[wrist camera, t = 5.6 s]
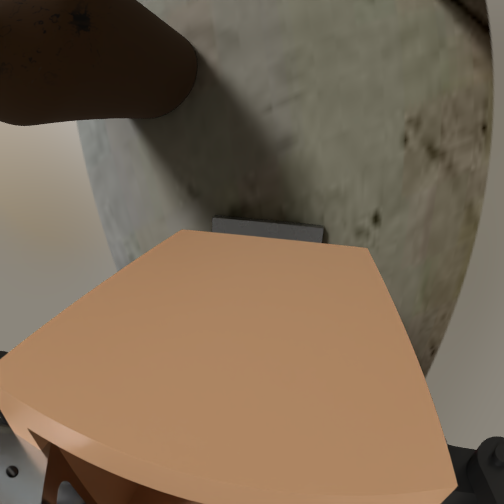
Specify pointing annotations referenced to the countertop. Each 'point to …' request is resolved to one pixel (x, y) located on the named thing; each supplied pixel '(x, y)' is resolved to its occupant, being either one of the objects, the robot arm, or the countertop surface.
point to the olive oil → (89, 61)
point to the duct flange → (267, 228)
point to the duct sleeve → (234, 381)
